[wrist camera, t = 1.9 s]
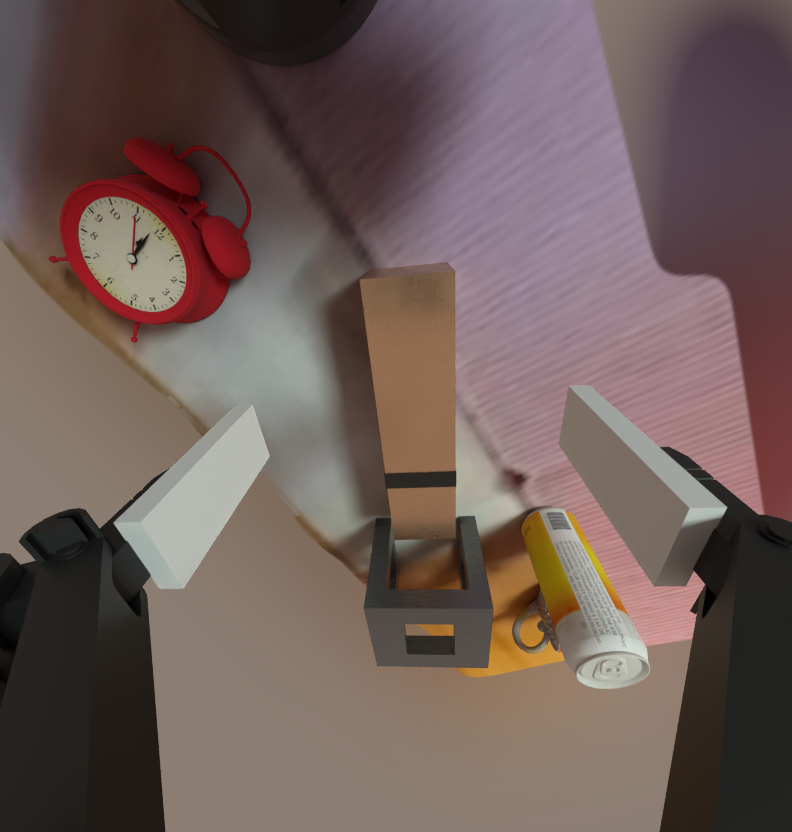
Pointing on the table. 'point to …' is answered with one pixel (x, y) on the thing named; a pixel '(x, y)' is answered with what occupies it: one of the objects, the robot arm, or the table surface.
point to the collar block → (429, 607)
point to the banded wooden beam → (415, 393)
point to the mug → (544, 626)
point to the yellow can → (583, 603)
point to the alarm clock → (153, 240)
